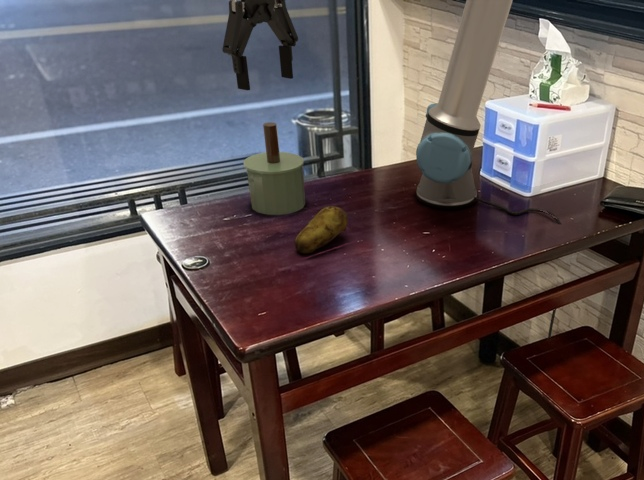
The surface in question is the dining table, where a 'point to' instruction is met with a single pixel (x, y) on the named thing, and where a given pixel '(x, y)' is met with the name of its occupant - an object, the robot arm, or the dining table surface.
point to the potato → (321, 229)
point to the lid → (273, 156)
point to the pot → (277, 192)
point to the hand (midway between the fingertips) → (266, 83)
